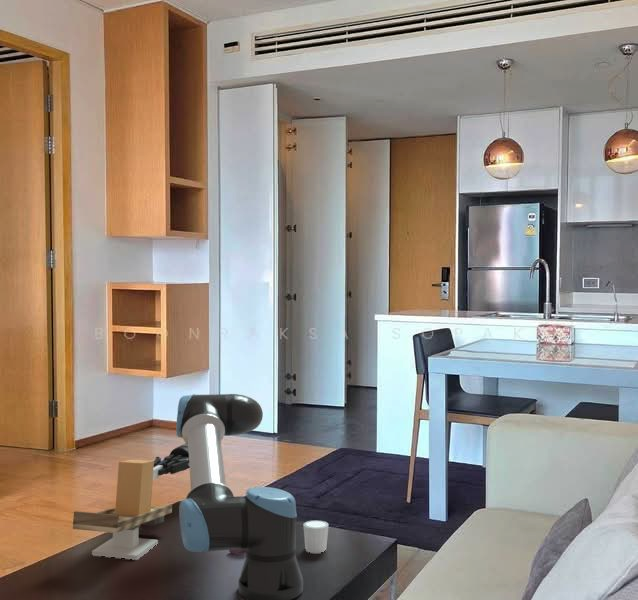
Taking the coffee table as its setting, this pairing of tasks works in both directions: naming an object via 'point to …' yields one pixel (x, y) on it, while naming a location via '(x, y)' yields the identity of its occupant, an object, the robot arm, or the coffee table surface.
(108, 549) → the pivot stand
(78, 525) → the beam
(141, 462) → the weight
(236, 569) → the coffee table surface
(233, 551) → the video game controller
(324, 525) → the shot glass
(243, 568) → the robot arm
